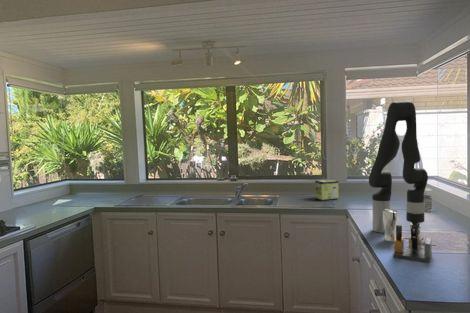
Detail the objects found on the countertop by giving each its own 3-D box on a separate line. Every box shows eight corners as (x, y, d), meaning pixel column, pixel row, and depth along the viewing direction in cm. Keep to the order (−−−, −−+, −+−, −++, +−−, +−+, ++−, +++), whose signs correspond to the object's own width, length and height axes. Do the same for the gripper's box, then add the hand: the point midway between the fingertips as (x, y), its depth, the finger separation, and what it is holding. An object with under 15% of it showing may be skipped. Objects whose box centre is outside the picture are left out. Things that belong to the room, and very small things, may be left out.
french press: (435, 211, 241) (435, 174, 239) (416, 211, 243) (416, 174, 242) (430, 208, 251) (430, 172, 249) (412, 208, 253) (412, 172, 251)
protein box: (315, 199, 298) (314, 180, 297) (331, 197, 303) (331, 179, 302) (321, 201, 288) (321, 182, 287) (338, 199, 293) (338, 180, 292)
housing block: (410, 245, 173) (410, 235, 173) (421, 247, 171) (421, 236, 170) (408, 248, 169) (408, 238, 169) (420, 250, 166) (420, 239, 166)
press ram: (396, 247, 166) (396, 223, 166) (403, 248, 165) (403, 224, 164) (394, 251, 160) (394, 227, 160) (401, 252, 159) (401, 228, 158)
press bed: (397, 249, 168) (397, 233, 168) (431, 253, 161) (431, 237, 161) (393, 257, 158) (393, 240, 158) (429, 262, 151) (429, 244, 150)
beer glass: (381, 240, 182) (381, 211, 181) (384, 237, 188) (384, 208, 187) (396, 242, 178) (396, 212, 177) (399, 239, 184) (399, 209, 183)
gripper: (408, 207, 177) (408, 241, 178) (404, 213, 165) (404, 250, 166) (425, 208, 173) (425, 243, 174) (423, 215, 161) (423, 252, 162)
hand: (415, 246), depth 170 cm, fingers closed on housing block, 5 cm apart
